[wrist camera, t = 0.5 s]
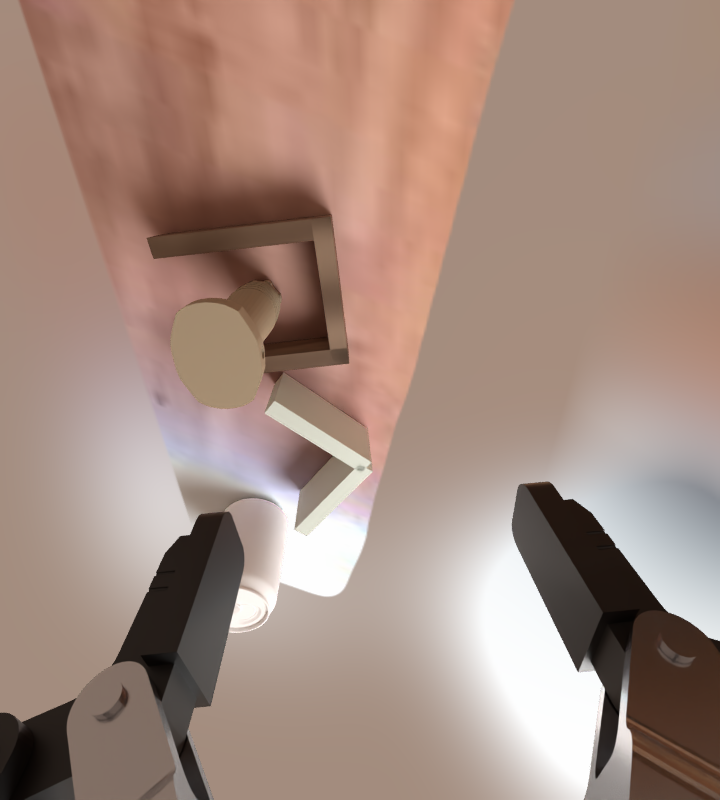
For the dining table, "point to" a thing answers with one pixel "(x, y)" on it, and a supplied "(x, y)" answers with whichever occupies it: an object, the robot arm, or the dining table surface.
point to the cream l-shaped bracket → (330, 434)
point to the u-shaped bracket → (276, 233)
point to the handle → (225, 344)
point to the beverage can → (258, 560)
